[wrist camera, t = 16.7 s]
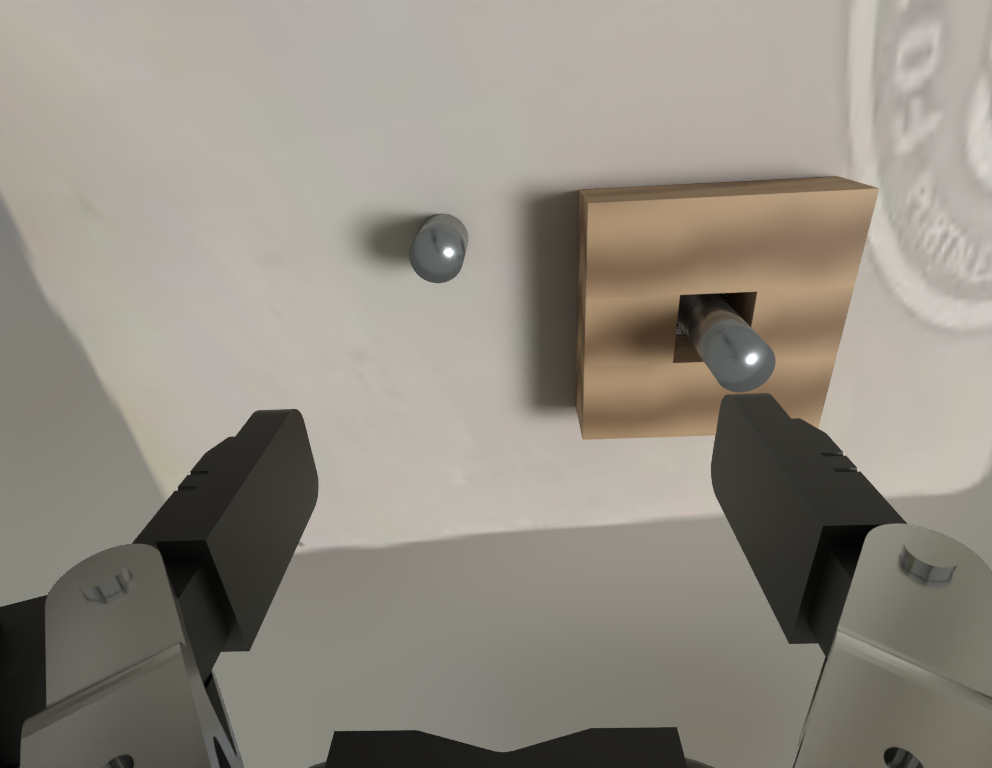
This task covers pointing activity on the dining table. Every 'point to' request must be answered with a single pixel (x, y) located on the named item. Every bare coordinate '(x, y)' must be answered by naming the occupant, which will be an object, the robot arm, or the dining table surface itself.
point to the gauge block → (706, 270)
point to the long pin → (725, 342)
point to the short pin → (439, 248)
